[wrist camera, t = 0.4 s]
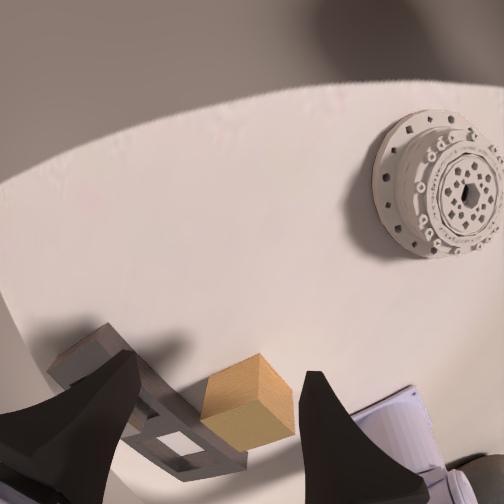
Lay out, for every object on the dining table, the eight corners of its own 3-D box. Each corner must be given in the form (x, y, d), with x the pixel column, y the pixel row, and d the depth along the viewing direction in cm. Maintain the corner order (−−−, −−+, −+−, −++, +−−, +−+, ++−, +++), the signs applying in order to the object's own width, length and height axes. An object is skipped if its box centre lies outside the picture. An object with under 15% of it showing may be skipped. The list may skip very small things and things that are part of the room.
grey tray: (247, 452, 29) (246, 469, 26) (186, 466, 31) (183, 482, 29) (108, 322, 23) (95, 339, 21) (57, 356, 25) (46, 371, 23)
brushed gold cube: (292, 389, 25) (295, 434, 20) (243, 408, 26) (239, 452, 21) (259, 352, 23) (258, 399, 19) (209, 375, 25) (199, 420, 20)
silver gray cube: (156, 392, 26) (141, 432, 21) (123, 405, 27) (107, 441, 22) (118, 355, 25) (96, 394, 20) (88, 371, 26) (67, 406, 21)
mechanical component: (339, 170, 19) (417, 277, 21) (359, 180, 14) (444, 307, 17) (441, 83, 16) (502, 195, 18) (478, 76, 12) (538, 210, 14)
